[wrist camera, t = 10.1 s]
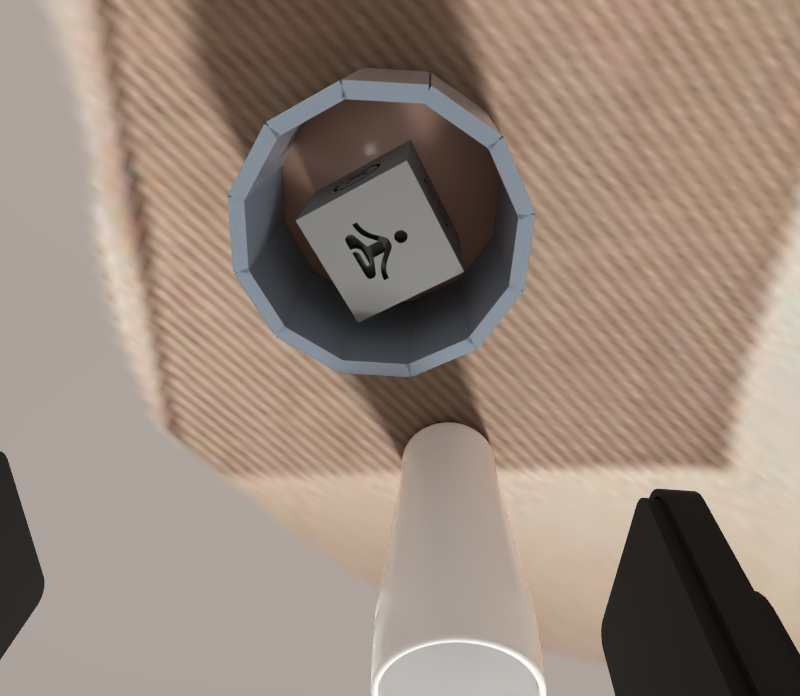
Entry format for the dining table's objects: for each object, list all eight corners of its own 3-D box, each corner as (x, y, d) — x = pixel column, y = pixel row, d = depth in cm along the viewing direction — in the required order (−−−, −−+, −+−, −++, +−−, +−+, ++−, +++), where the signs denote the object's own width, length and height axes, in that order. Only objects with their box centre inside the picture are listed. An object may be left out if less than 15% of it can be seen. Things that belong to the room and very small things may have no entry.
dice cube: (316, 191, 29) (295, 220, 25) (410, 139, 28) (406, 160, 24) (368, 280, 31) (358, 322, 27) (459, 236, 30) (464, 272, 25)
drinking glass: (434, 517, 39) (437, 771, 26) (366, 444, 37) (331, 681, 23) (527, 466, 37) (583, 713, 24) (462, 386, 35) (482, 609, 21)
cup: (269, 62, 28) (217, 72, 21) (523, 76, 27) (554, 91, 21) (279, 297, 33) (240, 366, 26) (493, 310, 32) (510, 383, 26)
